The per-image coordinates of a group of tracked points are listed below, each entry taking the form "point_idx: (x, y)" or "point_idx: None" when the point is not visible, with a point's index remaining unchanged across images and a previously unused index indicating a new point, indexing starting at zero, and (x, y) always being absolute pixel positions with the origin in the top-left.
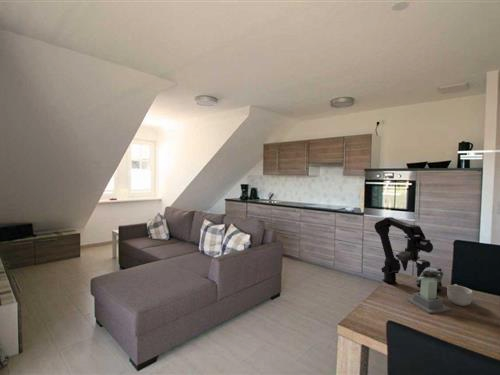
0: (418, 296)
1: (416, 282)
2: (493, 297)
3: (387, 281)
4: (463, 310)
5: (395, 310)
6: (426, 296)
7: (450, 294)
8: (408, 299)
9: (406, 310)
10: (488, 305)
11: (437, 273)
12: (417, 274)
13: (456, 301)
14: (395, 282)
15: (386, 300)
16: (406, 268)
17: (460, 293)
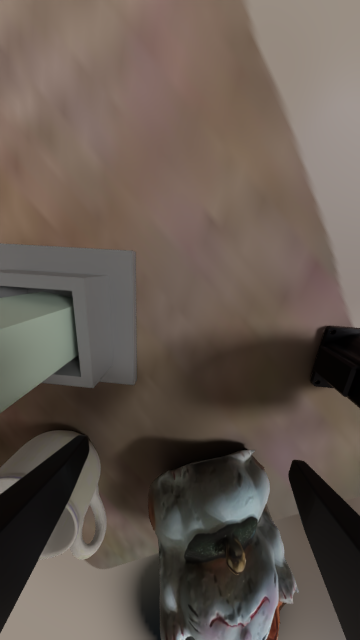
0: (45, 274)
1: (260, 464)
2: (89, 560)
3: (355, 337)
4: (21, 411)
5: (39, 52)
6: (1, 301)
7: (43, 456)
8: (119, 254)
9: (35, 141)
10: None
11: (183, 609)
12: (55, 460)
13: (38, 436)
14: (315, 369)
15: (165, 107)
16: (302, 520)
17: None
